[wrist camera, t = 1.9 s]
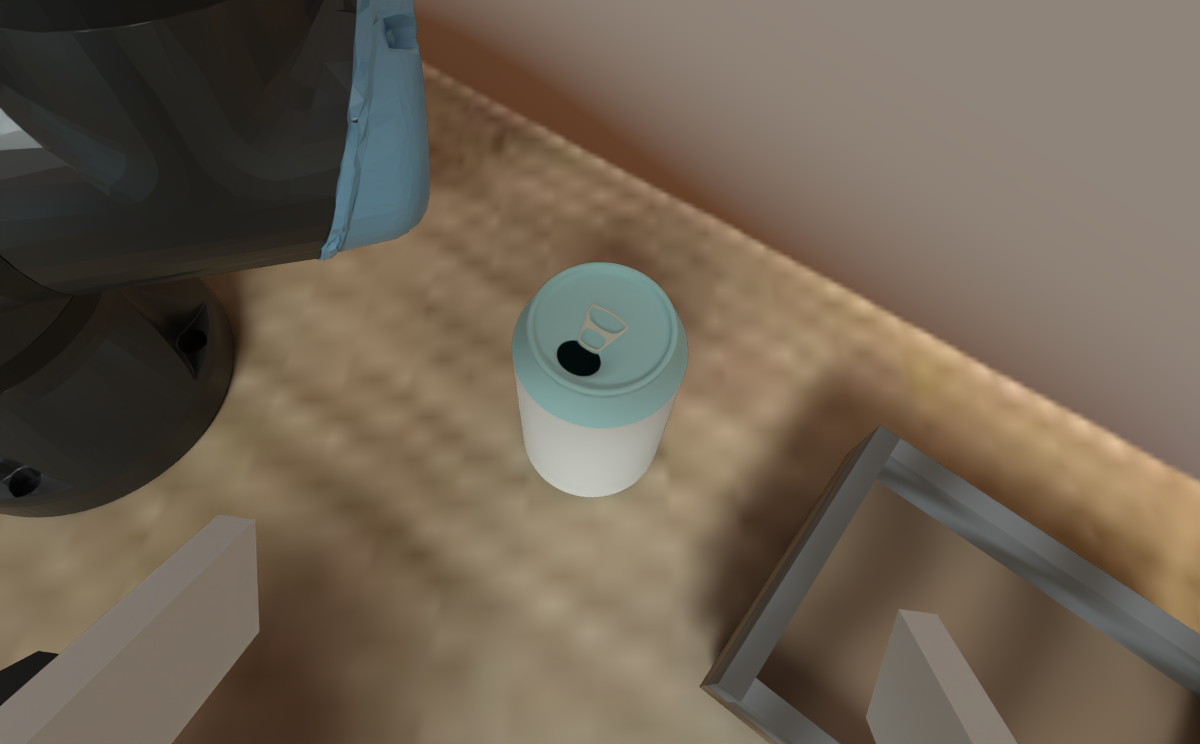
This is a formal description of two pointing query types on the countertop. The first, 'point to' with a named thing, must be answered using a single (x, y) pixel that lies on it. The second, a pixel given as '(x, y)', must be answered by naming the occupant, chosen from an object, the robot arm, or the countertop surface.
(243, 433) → the countertop surface
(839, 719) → the grey rectangular tray
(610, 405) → the can
